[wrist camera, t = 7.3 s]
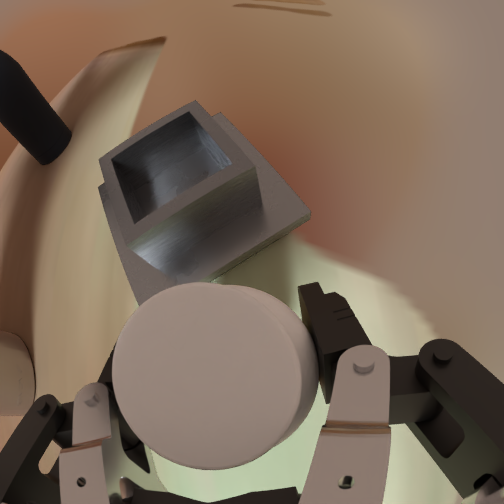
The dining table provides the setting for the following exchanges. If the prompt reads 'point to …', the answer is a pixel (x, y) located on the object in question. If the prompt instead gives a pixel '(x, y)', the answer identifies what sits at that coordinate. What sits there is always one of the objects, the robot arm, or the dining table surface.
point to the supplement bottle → (214, 374)
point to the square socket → (192, 201)
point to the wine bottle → (29, 114)
